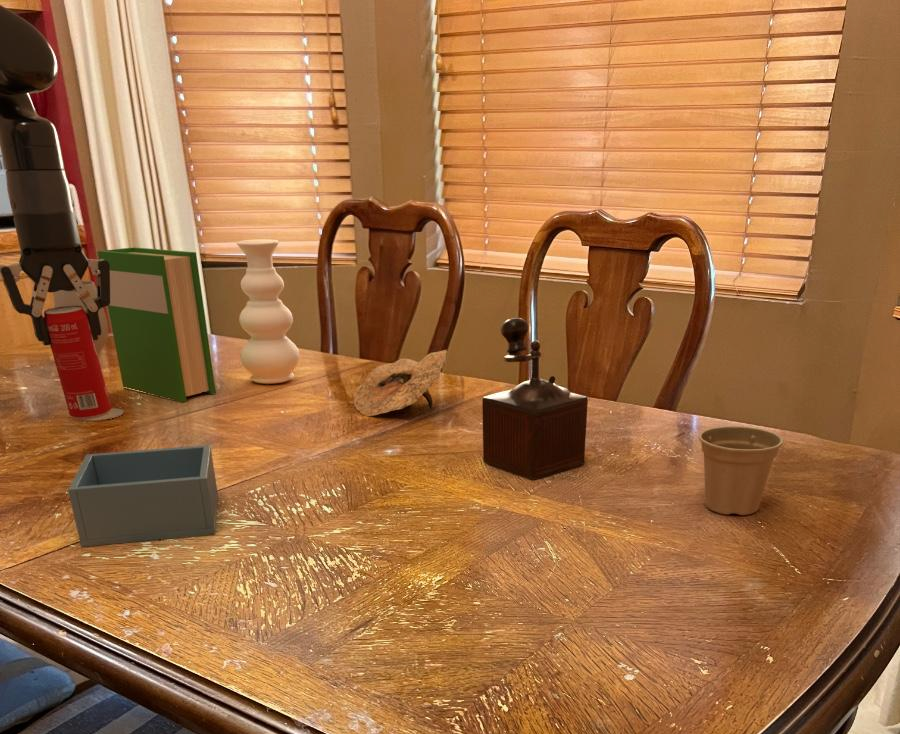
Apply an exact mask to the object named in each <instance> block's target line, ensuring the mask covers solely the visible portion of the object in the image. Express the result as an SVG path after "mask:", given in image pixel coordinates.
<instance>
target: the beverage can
mask: <svg viewBox="0 0 900 734" xmlns="http://www.w3.org/2000/svg"><path fill="white" fill-rule="evenodd" d="M43 317H44V318H45V323H46V327H47V332H48V337H49V341H50V345H49V347H50V351H51V353H52V357H53V361H54V364H55V367H56V372H57V374H58V378H59V382H60V385H61V388H62V389H61V390H62V393H63V395H64V400H65V403H66V406H67V410H68V413H69V415H70V417H71V418H72V419H74V420H79V421H80V420H81V421H84V420H85V419H93V418H98V417H102V416H105V415H107V414H109V413H110V410H111V408H112V405H111V401H110V398H109V397H110V396H109V394H108V389H107V386H106V381H105V377H104V374H103V370H102V367H101V362H100V359H99V358H100V357H99V353H98V354H97V350H96V347H95V343H94V340H93V337H92V332H91V328H90V323H89V319H88V316H87V314H86V313H85V311H84V309H83V307H82V306H63V307H56V308H55V307H51V308H47V309H45V310H43Z"/></svg>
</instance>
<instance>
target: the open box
mask: <svg viewBox="0 0 900 734" xmlns="http://www.w3.org/2000/svg"><path fill="white" fill-rule="evenodd" d="M67 492H68V496H69V500H70V505H71V509H72V513H73V517H74V522H75V526H76V530H77V535H78V539H79V544H80V547H81V548H84V547H85V548H86V547H94V546H95V547H96V546H106V545H118V544H127V543H137V542H139V543H140V542H148V541H159V540H168V539H169V540H171V539H179V538H191V537H202V536H212V535H213V536H214V535H216V529H217V528H216V527H217V514H218V504H219V503H218V502H219V492H218V486H217V480H216V473H215V467H214V461H213V453H212V446H211V444H206V445H205V444H204V445H192V446H178V447H167V448H164V447H163V448H151V449H139V450H125V451H113V452H111V451H110V452H101V453H99V452H98V453H87V454H85V456H84V458H83V460H82V461H81V464H80V466H79V468H78V470H77V471H76V473H75V475H74V477H73V478H72V481H71V483H70V485H69V487H68V489H67Z"/></svg>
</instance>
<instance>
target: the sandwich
mask: <svg viewBox="0 0 900 734" xmlns="http://www.w3.org/2000/svg"><path fill="white" fill-rule="evenodd" d="M447 350H448V349H442V350H439V351H434V352H430V353H428V354H427V355H426V356H425V357H423V358H422V359H421V360H420V361H416V360H413V359H409V358H406V357H405V358H400V359H398V360H396V361H394V362H391V363H385V364H381V365H379V366H376V367H374V369H373V370H372V371H371V372H370V373H368V375H367V376H366V378H365V379H364V381H363V382H362V384H360V385H359V386H358V387H357V389H356V390H355V392H354V393H353V396H352V398H353V402H354V403H353V405H354V407H355V409H356V410H357V411H358V412H359V413H360V414H362V415H364V416H366V417H369V416H370V417H372V416H377V415H381V414H386V413H389V412H393V411H397V410H403V409H405V408H407V407H409V406H410V405H412V404H414V403H415V402H416V401H417V400H419V398H420V397H423V398H424V399H425V400H426V402H427V405H428V408H429V410H431V409H433V404H434V401H433V397H432V395H431V393H430V391H429V389H430V388H432V387H433V385H434V384H435V383H436V382H437V381H438V379H440V375H441V371H442V369H443V367H444V364H445V361H447V358H446V356H447V354H448V351H447Z"/></svg>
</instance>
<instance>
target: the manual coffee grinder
mask: <svg viewBox="0 0 900 734" xmlns="http://www.w3.org/2000/svg"><path fill="white" fill-rule="evenodd" d="M528 332H529V324H528V322H527V320H524V319H523V318H521V317H513V318H509V319H507V320H505V321H504V322H503V323H501V326H500V333H501V334H500V335H502V336H503V337H504V339H505V340H506V342H507V343H508V346H507V350H506V352H507V353H508V354H506V355H504V357H503V358H504V362H506V363H525V362H529V361H531V377H530V379H529V380H526V381H522V382H520V383H519V384H517V385H515V386H514V387H513V388H511V389H508V390H505V391H500V392H496V393H493V394H489V395H486V396H482V400H481V401H482V403H481V404H482V405H481V406H482V454H483V457H482V460H483V462H484V463H486V464H487V465H489V466H491V467H493V468H496V469H500V470H502V471H504V472H507V473H509V474H512V475H516V476H519V477H522V478H526V479H529V480H531V481H533V480H537V479H540V478H545V477H548V476H551V475H555V474H558V473H561V472H564V471H568V470H570V469H574V468H577V467H580V466H583V465H584V464H585V463H586V458H585V453H586V438H587V423H588V405H589V404H588V403H589V398H588V396H587V395H581V394H578V393H574V392H571V391H570V390H569V389H568V388H566V387H563V386H560V385H558V384H556V383H555V382H556V376H554V375H551V376H550V377H549V379H548V380H546V379H543V378H540V373H539V372H540V369H539V367H540V366H539V365H540V358H541V357H542V352H541V351H540V349H541V343H540V341H539V340H534V341H531V342H530V344H529V345H530V350H531V351H530V352H529V353H530V354H527V355H521V354H522V353H523V352H524V351H527V349H528V347H527V346H526V344H525V338H526V335H527V333H528Z"/></svg>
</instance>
